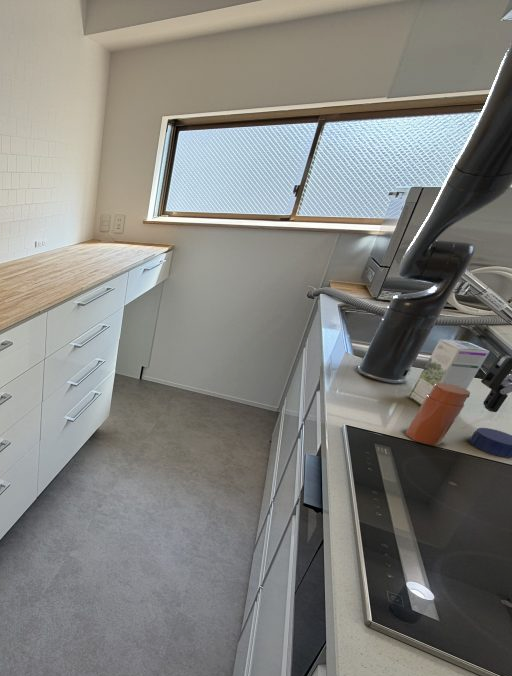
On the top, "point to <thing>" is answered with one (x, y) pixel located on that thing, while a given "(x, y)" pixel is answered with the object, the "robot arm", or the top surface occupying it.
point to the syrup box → (449, 367)
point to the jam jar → (437, 413)
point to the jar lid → (492, 441)
